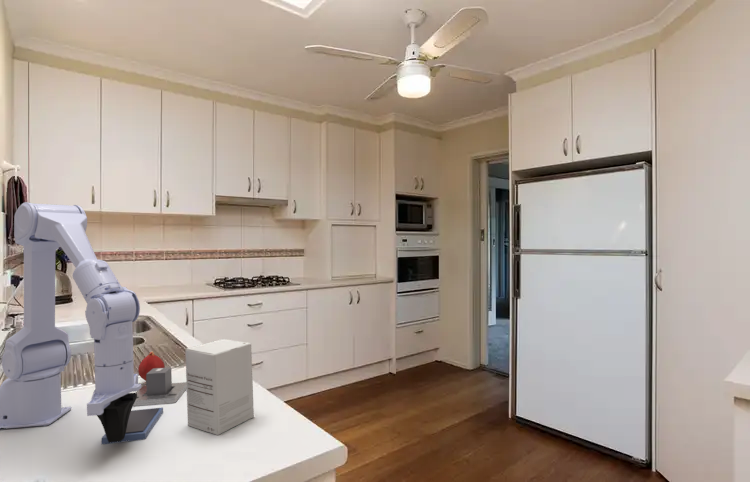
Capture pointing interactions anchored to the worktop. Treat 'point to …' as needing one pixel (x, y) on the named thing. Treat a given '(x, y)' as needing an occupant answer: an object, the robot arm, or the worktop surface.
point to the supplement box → (219, 385)
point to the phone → (139, 424)
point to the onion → (149, 364)
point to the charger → (159, 381)
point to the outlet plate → (160, 399)
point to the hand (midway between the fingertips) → (116, 440)
